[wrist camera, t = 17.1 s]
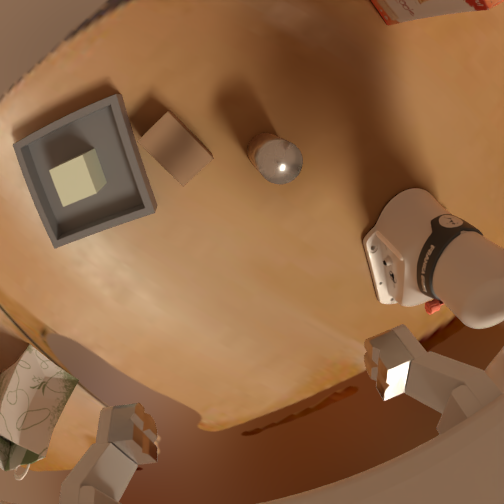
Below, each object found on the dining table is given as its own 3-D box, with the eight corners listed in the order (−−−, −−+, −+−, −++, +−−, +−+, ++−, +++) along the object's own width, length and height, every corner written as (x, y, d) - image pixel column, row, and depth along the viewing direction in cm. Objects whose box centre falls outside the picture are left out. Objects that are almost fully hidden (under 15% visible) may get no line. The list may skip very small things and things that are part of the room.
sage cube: (94, 148, 36) (82, 154, 32) (106, 182, 39) (96, 193, 34) (63, 161, 36) (48, 170, 32) (76, 195, 39) (63, 207, 34)
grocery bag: (23, 420, 59) (5, 491, 39) (-17, 390, 53) (-44, 460, 32) (81, 381, 55) (61, 479, 34) (28, 340, 48) (-12, 436, 28)
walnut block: (211, 153, 41) (213, 158, 37) (184, 179, 42) (183, 186, 38) (170, 110, 37) (167, 111, 34) (142, 137, 38) (137, 141, 34)
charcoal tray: (157, 205, 42) (155, 212, 40) (61, 239, 42) (54, 248, 39) (121, 94, 35) (116, 93, 32) (22, 141, 34) (12, 144, 31)
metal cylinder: (287, 164, 43) (306, 178, 36) (252, 173, 43) (264, 189, 36) (279, 129, 40) (298, 136, 33) (243, 137, 40) (254, 146, 33)
